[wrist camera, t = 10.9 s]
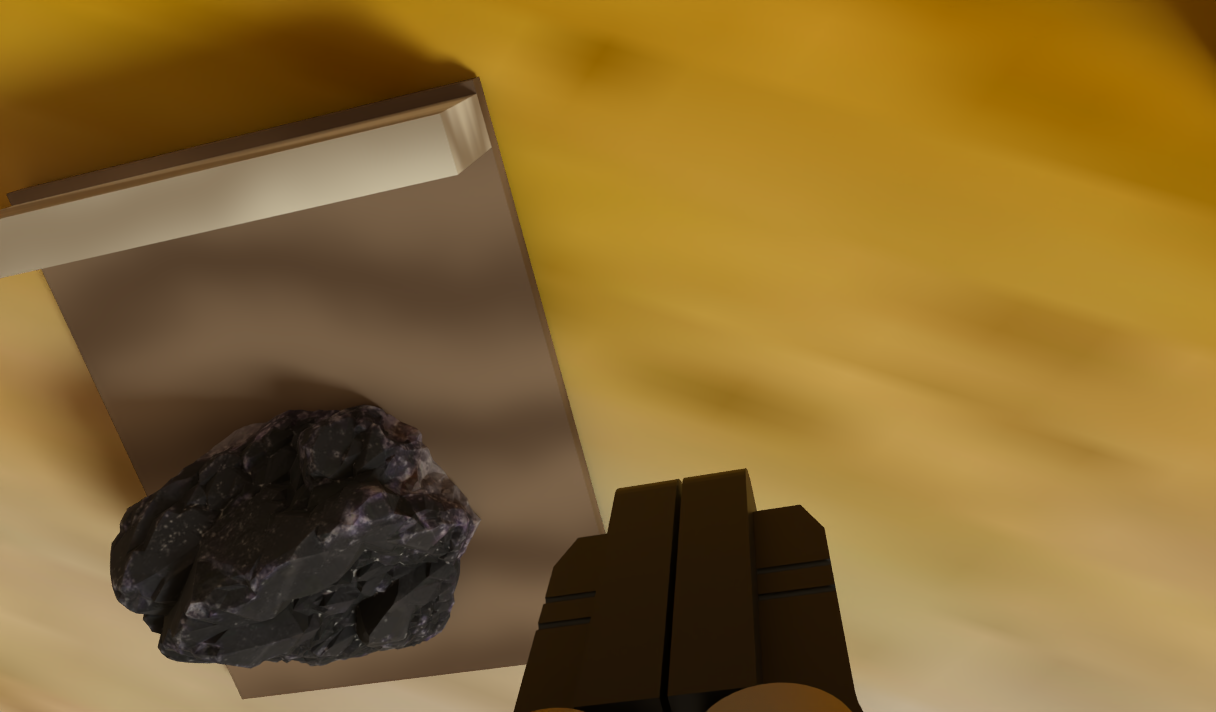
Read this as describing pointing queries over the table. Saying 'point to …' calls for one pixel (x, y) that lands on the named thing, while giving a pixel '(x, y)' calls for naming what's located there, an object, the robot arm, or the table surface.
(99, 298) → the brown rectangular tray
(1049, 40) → the table surface
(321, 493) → the black rock
